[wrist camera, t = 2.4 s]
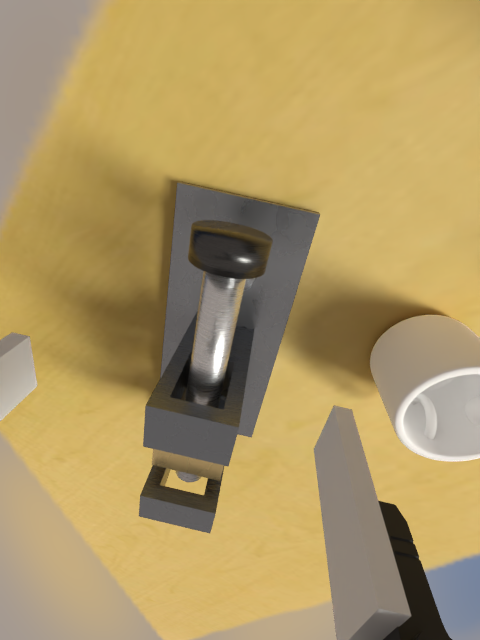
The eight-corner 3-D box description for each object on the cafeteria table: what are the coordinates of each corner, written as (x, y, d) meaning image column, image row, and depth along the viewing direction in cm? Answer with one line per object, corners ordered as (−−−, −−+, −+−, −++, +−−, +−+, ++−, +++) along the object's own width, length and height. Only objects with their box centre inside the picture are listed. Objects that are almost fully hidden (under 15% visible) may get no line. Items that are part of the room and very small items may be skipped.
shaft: (202, 215, 21) (181, 231, 17) (273, 232, 21) (271, 252, 17) (172, 441, 32) (155, 486, 28) (219, 452, 32) (210, 499, 28)
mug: (440, 413, 35) (488, 490, 27) (348, 396, 35) (367, 467, 27) (497, 319, 29) (580, 382, 21) (385, 301, 29) (424, 356, 21)
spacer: (176, 385, 29) (154, 431, 24) (237, 399, 29) (228, 449, 24) (172, 415, 31) (151, 464, 26) (229, 429, 31) (219, 480, 26)
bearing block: (180, 181, 26) (96, 204, 14) (318, 212, 26) (349, 261, 14) (159, 409, 39) (106, 521, 27) (252, 431, 39) (238, 552, 27)
